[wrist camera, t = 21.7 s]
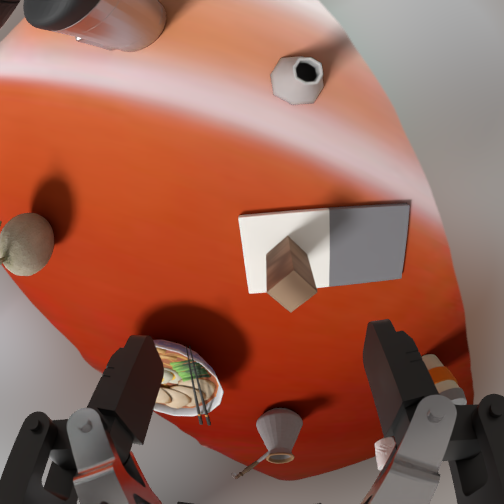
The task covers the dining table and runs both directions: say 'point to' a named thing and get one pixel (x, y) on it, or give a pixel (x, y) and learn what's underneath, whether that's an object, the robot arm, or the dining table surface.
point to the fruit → (26, 244)
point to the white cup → (383, 451)
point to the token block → (289, 274)
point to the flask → (297, 80)
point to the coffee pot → (277, 436)
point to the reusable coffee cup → (444, 380)
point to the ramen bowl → (186, 382)
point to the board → (330, 242)
